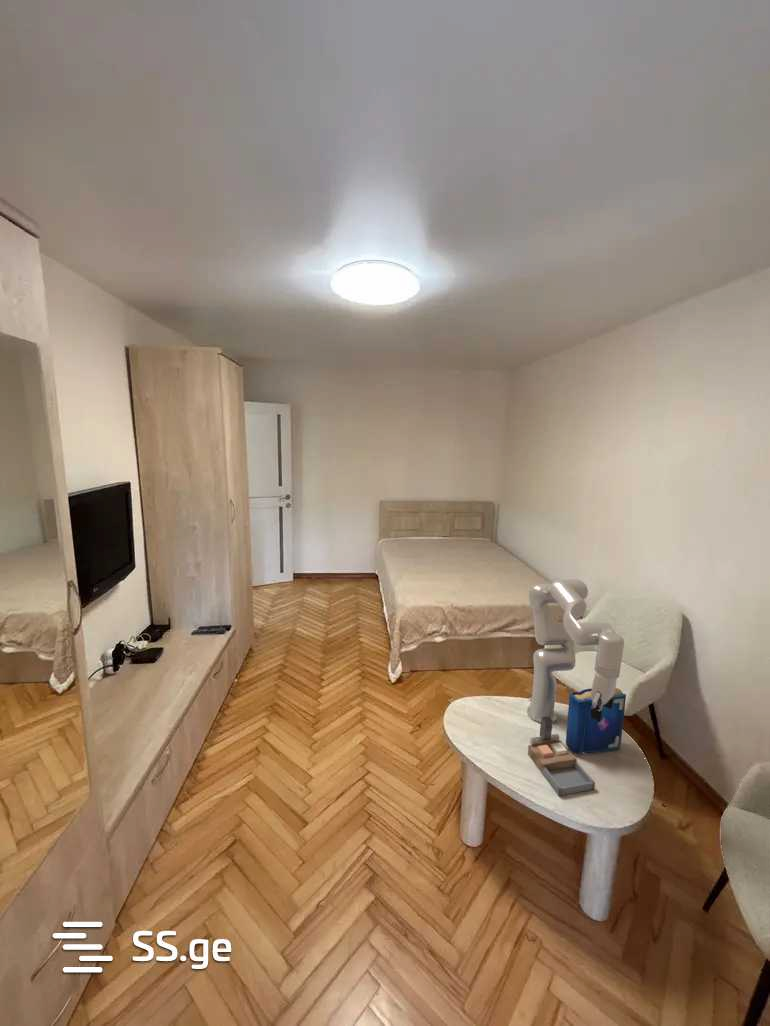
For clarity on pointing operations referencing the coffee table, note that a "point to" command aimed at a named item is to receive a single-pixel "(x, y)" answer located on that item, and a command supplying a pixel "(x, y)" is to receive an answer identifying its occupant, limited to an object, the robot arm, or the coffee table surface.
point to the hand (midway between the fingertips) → (601, 712)
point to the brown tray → (551, 758)
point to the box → (569, 780)
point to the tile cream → (559, 748)
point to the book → (594, 724)
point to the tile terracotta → (545, 751)
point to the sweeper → (545, 732)
